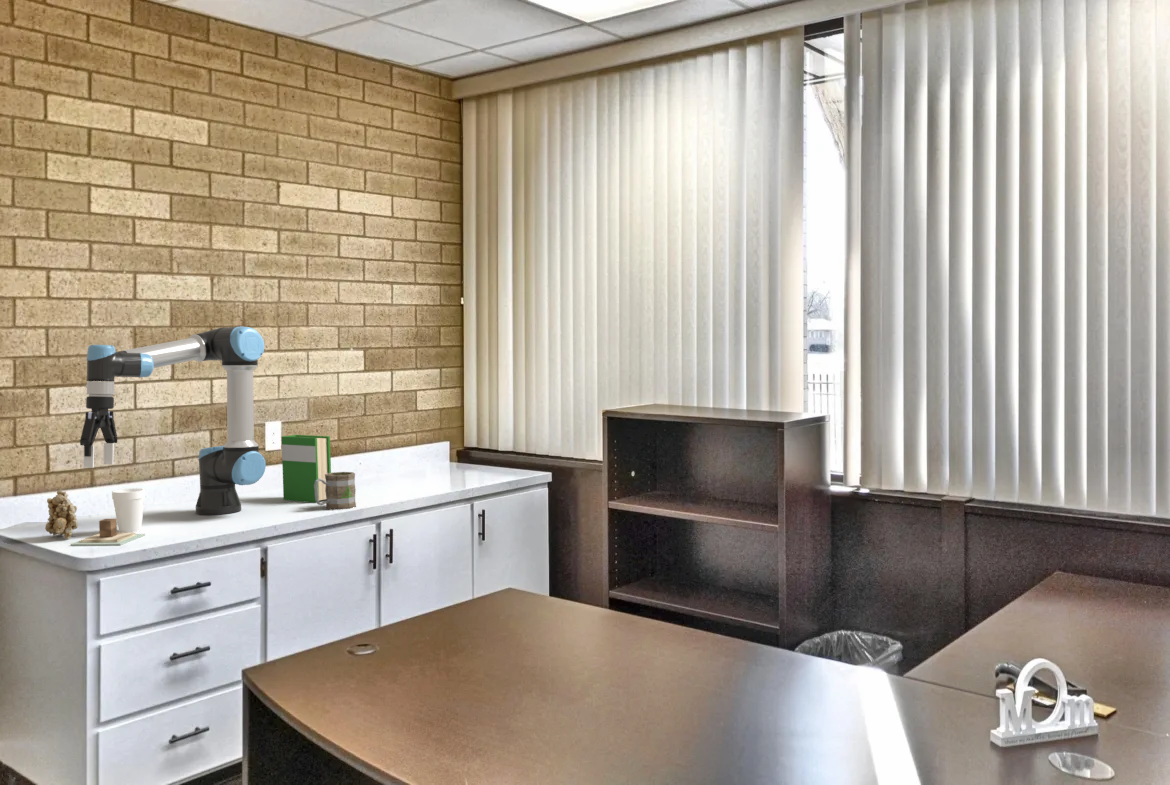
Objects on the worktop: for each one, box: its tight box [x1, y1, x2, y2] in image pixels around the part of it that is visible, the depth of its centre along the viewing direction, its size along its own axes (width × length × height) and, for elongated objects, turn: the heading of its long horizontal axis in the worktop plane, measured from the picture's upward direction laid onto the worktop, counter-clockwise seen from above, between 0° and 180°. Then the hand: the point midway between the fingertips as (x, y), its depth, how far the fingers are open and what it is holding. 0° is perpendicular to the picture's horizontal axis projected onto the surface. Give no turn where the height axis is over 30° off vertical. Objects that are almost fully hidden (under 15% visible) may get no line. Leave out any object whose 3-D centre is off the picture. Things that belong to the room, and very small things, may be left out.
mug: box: [314, 471, 357, 511], centre depth 350 cm, size 16×11×12 cm
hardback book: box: [281, 434, 332, 504], centre depth 370 cm, size 18×7×24 cm, turn 59°
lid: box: [80, 518, 136, 543], centre depth 298 cm, size 11×11×6 cm
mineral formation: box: [44, 489, 79, 540], centre depth 303 cm, size 8×13×15 cm, turn 50°
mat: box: [70, 533, 146, 547], centre depth 298 cm, size 15×15×1 cm
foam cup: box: [111, 487, 146, 533], centre depth 313 cm, size 10×9×13 cm
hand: (98, 466), depth 298 cm, fingers open, 13 cm apart
